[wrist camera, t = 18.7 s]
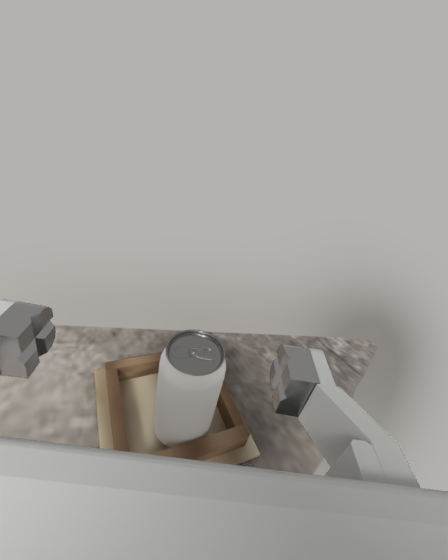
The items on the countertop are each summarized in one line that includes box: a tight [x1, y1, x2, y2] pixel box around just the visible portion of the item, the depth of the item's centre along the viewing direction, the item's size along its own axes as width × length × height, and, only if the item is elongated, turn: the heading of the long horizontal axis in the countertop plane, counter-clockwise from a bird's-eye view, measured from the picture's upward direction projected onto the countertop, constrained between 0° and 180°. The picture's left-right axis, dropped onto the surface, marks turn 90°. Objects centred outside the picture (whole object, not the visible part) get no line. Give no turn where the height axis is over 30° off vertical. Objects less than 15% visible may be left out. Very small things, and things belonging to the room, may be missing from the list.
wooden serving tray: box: [94, 353, 260, 465], centre depth 34 cm, size 16×16×3 cm
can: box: [154, 330, 226, 448], centre depth 30 cm, size 6×6×12 cm
